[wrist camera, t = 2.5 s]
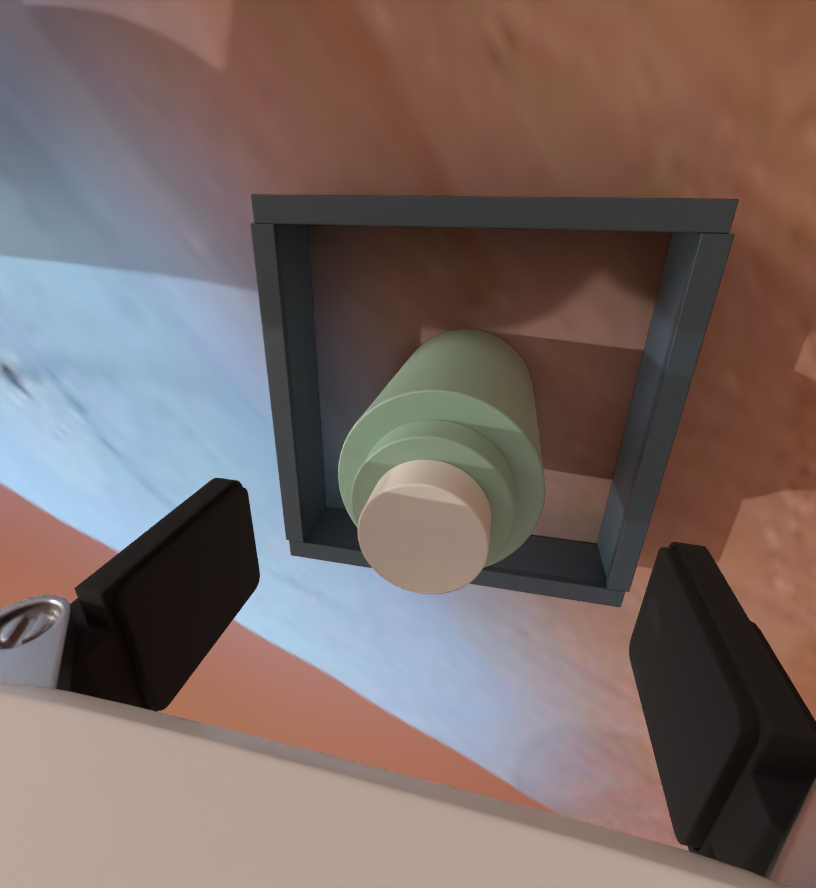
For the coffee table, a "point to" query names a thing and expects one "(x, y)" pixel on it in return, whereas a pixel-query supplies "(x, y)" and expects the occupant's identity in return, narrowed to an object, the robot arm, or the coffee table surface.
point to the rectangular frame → (684, 275)
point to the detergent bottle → (446, 464)
